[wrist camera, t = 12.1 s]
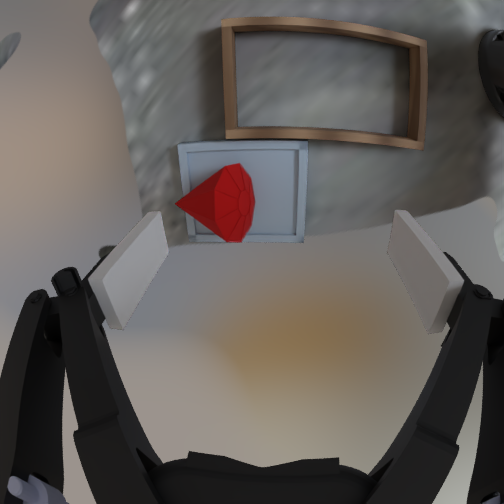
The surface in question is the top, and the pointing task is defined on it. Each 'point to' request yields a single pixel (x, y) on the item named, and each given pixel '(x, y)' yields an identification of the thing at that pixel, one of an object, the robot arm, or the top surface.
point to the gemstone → (223, 203)
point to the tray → (263, 180)
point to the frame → (415, 45)
